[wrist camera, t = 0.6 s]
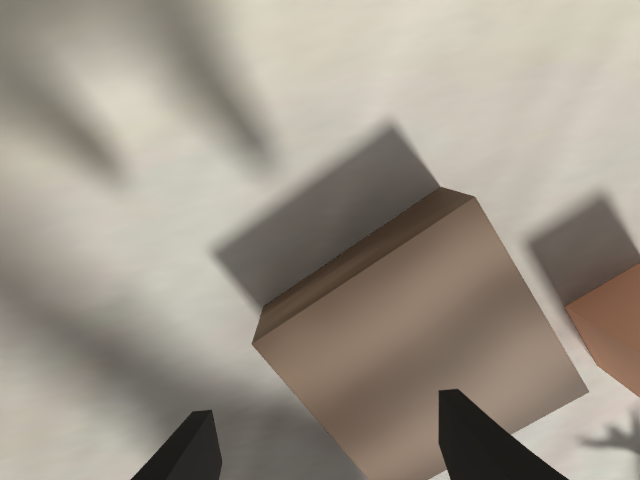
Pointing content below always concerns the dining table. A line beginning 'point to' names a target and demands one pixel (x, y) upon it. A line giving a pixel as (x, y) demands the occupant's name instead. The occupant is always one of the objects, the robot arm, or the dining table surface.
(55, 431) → the dining table surface
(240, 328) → the dining table surface
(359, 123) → the dining table surface
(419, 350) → the walnut plinth
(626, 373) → the terracotta cube
